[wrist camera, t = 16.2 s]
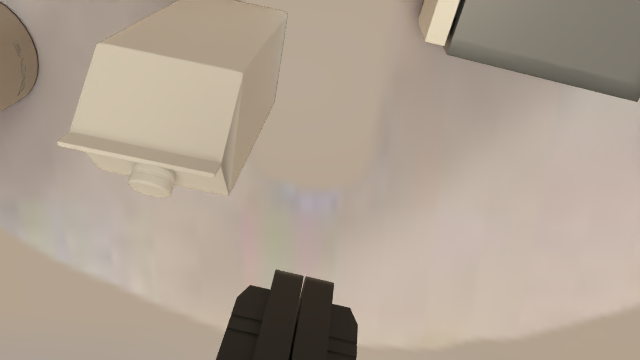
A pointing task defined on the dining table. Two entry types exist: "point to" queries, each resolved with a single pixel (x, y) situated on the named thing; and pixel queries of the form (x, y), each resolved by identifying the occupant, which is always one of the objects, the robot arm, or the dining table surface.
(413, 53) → the dining table surface
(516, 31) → the player housing
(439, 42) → the tray
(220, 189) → the milk carton
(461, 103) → the dining table surface
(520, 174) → the dining table surface
